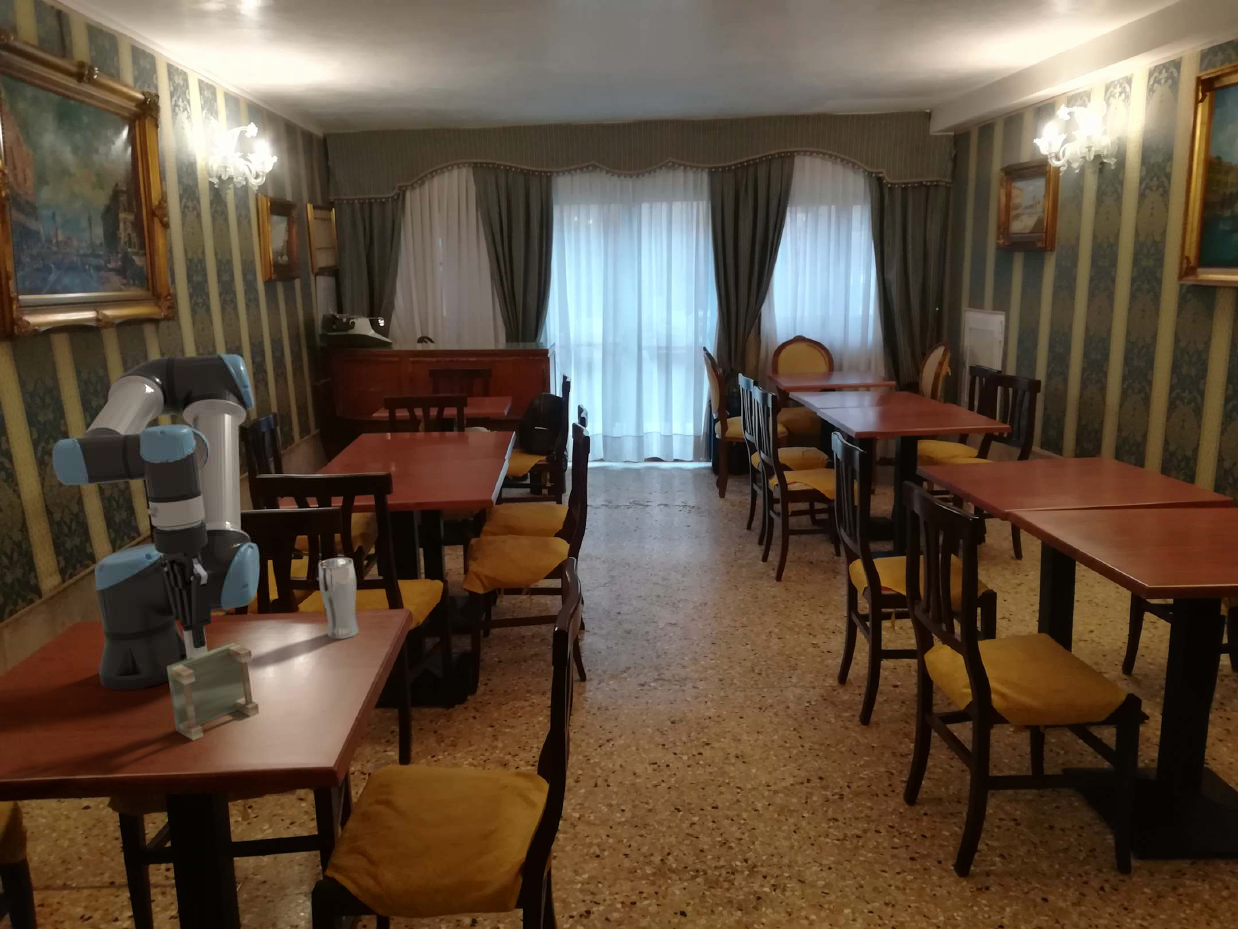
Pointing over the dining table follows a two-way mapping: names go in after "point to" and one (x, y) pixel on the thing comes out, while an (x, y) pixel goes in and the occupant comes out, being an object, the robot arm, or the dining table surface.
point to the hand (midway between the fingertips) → (198, 664)
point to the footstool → (210, 688)
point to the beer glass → (339, 596)
